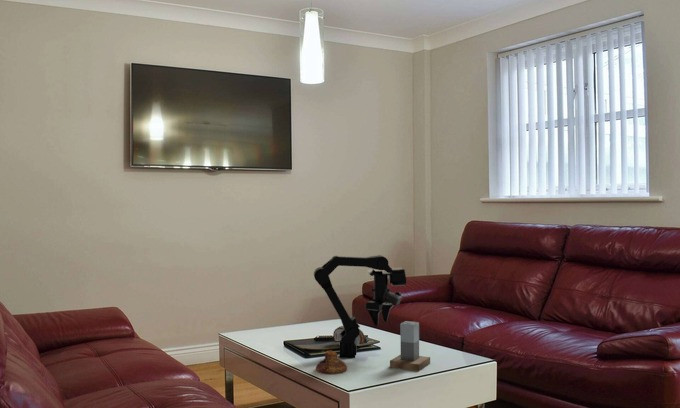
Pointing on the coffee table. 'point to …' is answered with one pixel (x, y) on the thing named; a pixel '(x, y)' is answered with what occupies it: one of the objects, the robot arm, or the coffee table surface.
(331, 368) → the bell
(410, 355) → the block
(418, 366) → the stand
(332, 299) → the robot arm
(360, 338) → the brown white half disc
